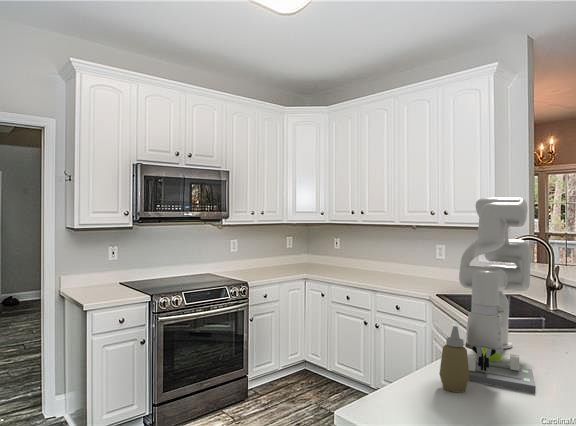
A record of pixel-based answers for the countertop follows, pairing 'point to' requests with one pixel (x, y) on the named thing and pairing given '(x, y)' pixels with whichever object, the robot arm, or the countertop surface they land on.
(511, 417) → the countertop surface
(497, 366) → the slider switch panel
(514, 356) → the block
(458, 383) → the squeeze bottle
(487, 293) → the robot arm
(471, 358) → the block
